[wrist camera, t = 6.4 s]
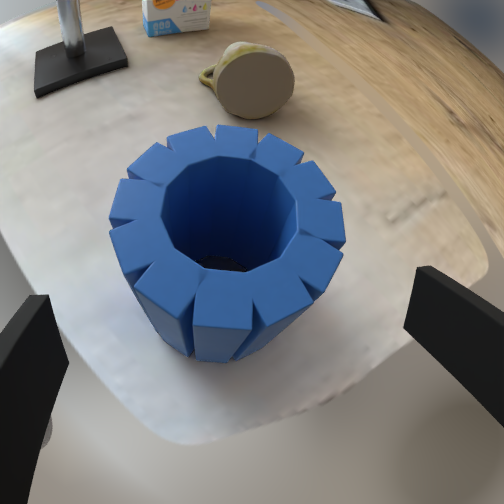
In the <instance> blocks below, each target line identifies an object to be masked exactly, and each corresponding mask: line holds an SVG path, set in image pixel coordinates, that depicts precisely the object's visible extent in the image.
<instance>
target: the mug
mask: <svg viewBox="0 0 504 504" xmlns="http://www.w3.org/2000/svg"><path fill="white" fill-rule="evenodd" d="M213 72H214V73H213ZM211 73H213V80H212V79H208V78H206V76H207V75H208V74H211ZM199 79H200V81H201V82H202V83H203V84H205V85H207V86H209V87H211V88H212V89H213V91H214V92H215V94H216V96H217V98H218V100H219V101H220V103H221V104H222V106H223V107H224V109H225V110H226V111H227V112H228V113H231V114H234V115H237V116H240V117H242V118H245V119H258V118H261V117H265V116H268V115H271V114H272V113H274V112H276V111H277V110H278V109H280V108H281V107H282V106H283V105H284V104H285V103H286V102H287V101H288V99H289V98H290V97H291V96H292V93H293V89H294V82H295V80H294V74H293V71H292V69H291V66H290V64H289V62H288V61H287V59H286V58H285V57H284V56H283V55H282V54H281V53H280V52H278V51H277V50H275V49H273V48H271V47H269V46H266V45H262V44H251V43H249V42H236V43H234V44H232V45H230V46H229V47H228V48H227V49H226V50H225V52H224V55H223V56H222V57H221V59H220V60H219V61H218V63H217V65H213V66H210V67H208V68H206V69H205V70H203V71H202V72H201V73H200V75H199Z"/></svg>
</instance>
